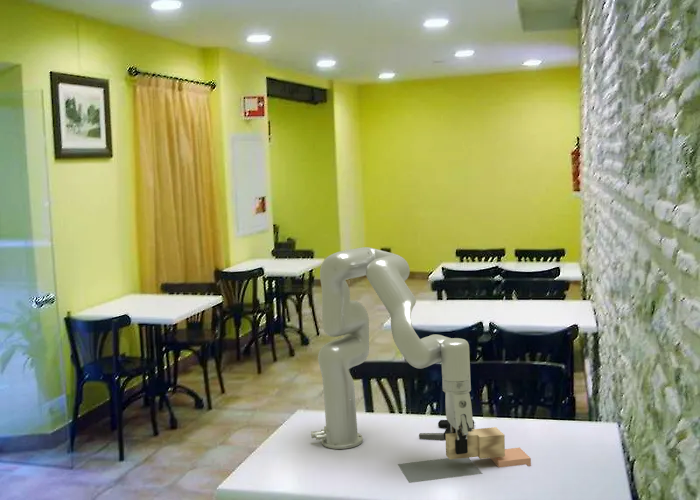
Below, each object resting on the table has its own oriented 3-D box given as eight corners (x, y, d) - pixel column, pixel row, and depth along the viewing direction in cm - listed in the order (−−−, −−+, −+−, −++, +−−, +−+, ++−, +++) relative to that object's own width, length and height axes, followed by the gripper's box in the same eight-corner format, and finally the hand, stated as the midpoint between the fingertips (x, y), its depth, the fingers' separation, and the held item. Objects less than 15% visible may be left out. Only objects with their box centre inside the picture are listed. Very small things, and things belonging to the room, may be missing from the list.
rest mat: (409, 484, 193) (408, 482, 193) (397, 466, 206) (397, 464, 205) (482, 475, 196) (482, 473, 196) (467, 457, 209) (467, 455, 209)
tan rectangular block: (498, 461, 199) (530, 458, 200) (488, 450, 207) (519, 447, 208) (499, 471, 199) (530, 467, 200) (489, 459, 207) (519, 456, 208)
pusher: (451, 461, 198) (450, 439, 197) (444, 453, 204) (443, 431, 203) (504, 456, 200) (504, 434, 199) (496, 448, 206) (496, 427, 206)
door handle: (414, 439, 220) (468, 438, 215) (428, 417, 239) (477, 416, 234) (415, 450, 220) (469, 449, 215) (429, 427, 239) (479, 426, 234)
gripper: (480, 391, 192) (482, 460, 194) (460, 375, 208) (463, 439, 210) (452, 394, 191) (455, 463, 193) (434, 378, 207) (437, 442, 209)
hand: (459, 450), depth 201 cm, fingers closed on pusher, 3 cm apart
